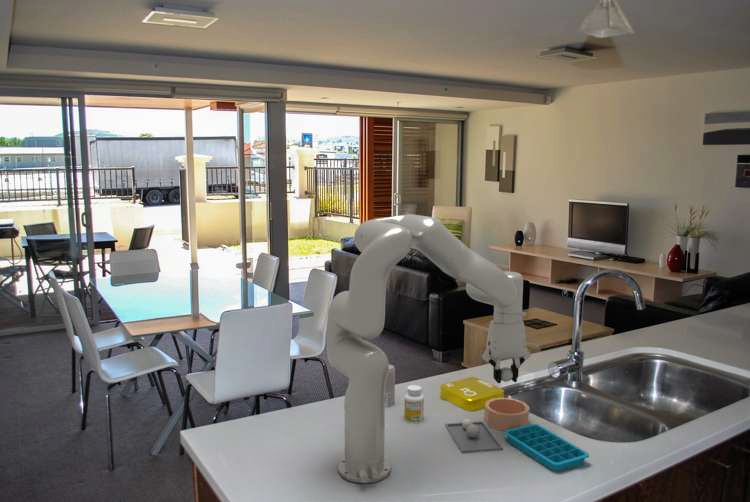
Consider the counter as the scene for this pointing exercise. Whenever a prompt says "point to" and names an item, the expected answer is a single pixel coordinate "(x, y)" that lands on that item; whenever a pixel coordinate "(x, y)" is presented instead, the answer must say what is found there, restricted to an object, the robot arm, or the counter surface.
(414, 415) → the supplement bottle
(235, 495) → the counter surface
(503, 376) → the pebble
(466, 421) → the pebble
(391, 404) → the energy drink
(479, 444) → the parts tray
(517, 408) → the bowl
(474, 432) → the pebble
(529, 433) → the ice cube tray
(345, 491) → the counter surface
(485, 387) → the element tile
